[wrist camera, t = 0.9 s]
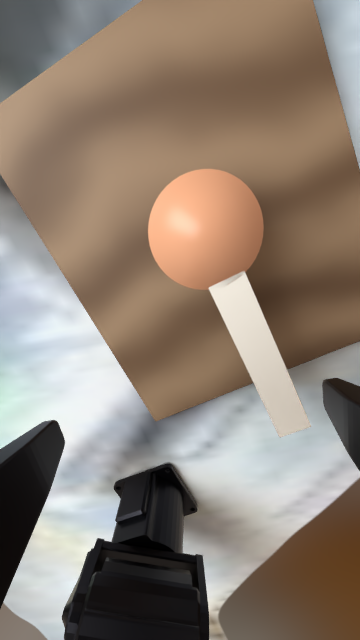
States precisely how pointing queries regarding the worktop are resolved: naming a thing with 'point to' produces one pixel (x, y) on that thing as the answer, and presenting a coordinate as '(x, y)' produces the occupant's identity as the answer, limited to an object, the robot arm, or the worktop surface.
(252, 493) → the worktop surface
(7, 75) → the worktop surface
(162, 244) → the orange and white spoon
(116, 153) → the post board
